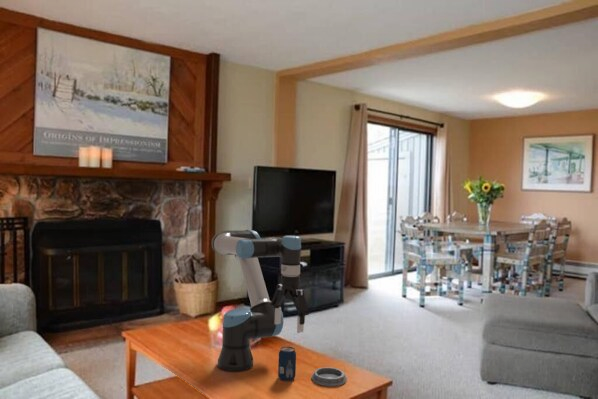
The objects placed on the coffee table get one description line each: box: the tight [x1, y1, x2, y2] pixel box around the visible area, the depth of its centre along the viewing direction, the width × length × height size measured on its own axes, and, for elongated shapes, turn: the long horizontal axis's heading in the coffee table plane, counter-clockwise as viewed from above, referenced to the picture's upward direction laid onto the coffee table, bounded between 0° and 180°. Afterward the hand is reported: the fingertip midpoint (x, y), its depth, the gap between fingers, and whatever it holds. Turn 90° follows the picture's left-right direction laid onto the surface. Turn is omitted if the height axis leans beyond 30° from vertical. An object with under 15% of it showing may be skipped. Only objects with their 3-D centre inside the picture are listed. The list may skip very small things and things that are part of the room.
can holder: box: [311, 366, 348, 388], centre depth 192 cm, size 14×14×3 cm
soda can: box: [277, 346, 297, 382], centre depth 191 cm, size 7×7×12 cm
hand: (288, 327), depth 191 cm, fingers open, 13 cm apart
